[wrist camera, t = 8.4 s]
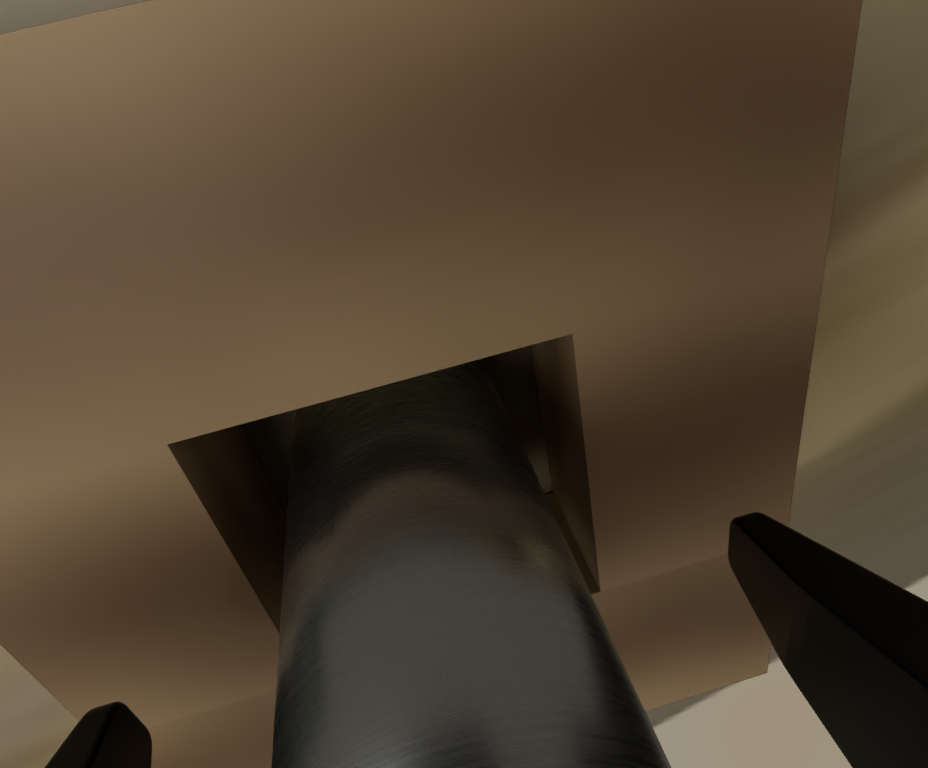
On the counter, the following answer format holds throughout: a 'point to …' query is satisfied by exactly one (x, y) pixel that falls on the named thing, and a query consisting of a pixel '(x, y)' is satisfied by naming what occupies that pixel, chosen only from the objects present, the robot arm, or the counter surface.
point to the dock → (397, 306)
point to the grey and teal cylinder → (438, 597)
